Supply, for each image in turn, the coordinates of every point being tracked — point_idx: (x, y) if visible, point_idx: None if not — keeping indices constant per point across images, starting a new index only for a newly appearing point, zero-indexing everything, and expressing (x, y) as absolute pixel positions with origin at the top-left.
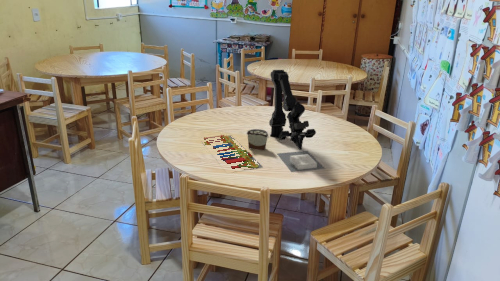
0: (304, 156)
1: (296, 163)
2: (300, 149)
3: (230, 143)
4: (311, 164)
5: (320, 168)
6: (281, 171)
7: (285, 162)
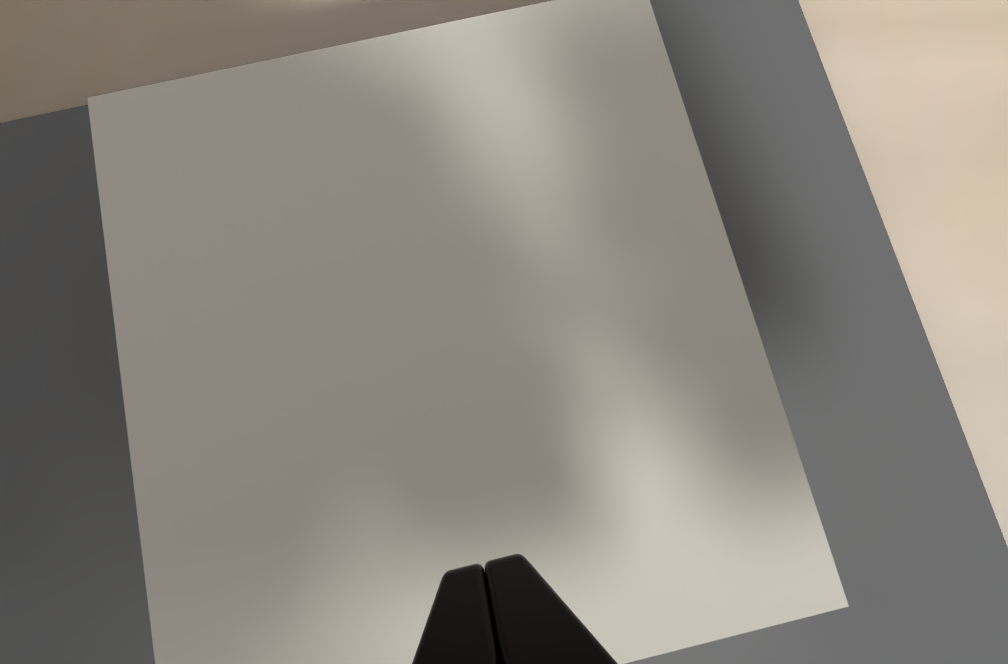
0: (348, 562)
1: (676, 97)
2: (510, 562)
3: None
4: (261, 72)
5: (60, 136)
6: (999, 15)
7: (919, 442)
